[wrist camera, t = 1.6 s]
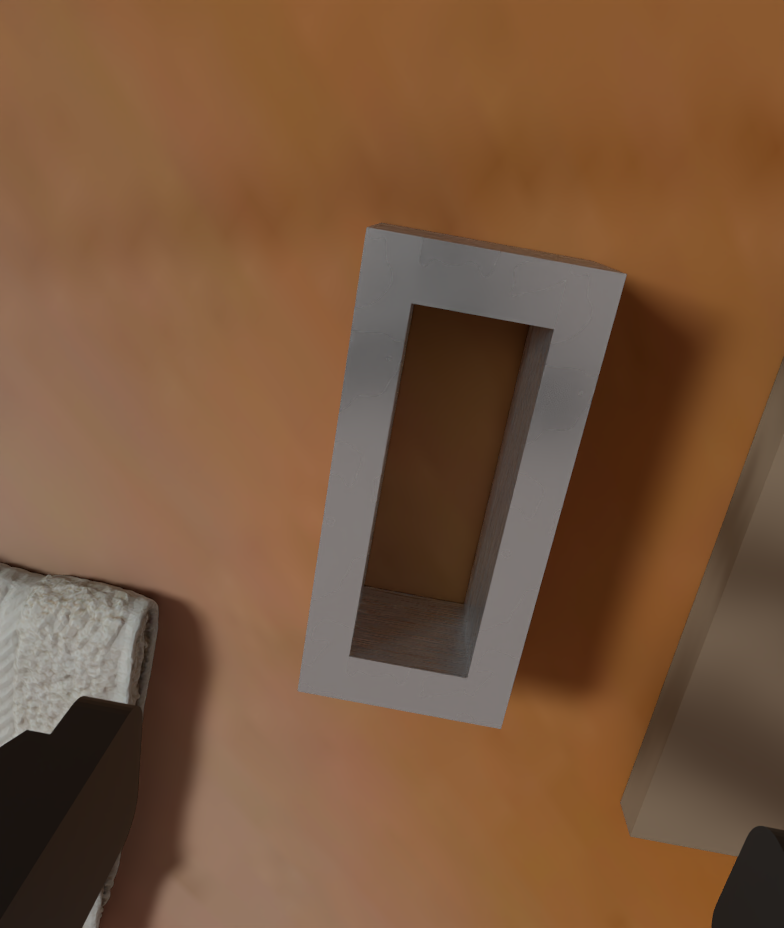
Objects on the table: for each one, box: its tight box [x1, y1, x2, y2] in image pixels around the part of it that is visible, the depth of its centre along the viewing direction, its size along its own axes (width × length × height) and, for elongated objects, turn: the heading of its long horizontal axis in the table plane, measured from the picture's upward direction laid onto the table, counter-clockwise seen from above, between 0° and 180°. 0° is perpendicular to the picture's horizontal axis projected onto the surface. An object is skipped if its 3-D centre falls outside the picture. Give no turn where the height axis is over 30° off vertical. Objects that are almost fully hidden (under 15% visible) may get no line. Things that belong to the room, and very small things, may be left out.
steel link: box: [298, 223, 627, 729], centre depth 20 cm, size 13×6×4 cm, turn 170°
